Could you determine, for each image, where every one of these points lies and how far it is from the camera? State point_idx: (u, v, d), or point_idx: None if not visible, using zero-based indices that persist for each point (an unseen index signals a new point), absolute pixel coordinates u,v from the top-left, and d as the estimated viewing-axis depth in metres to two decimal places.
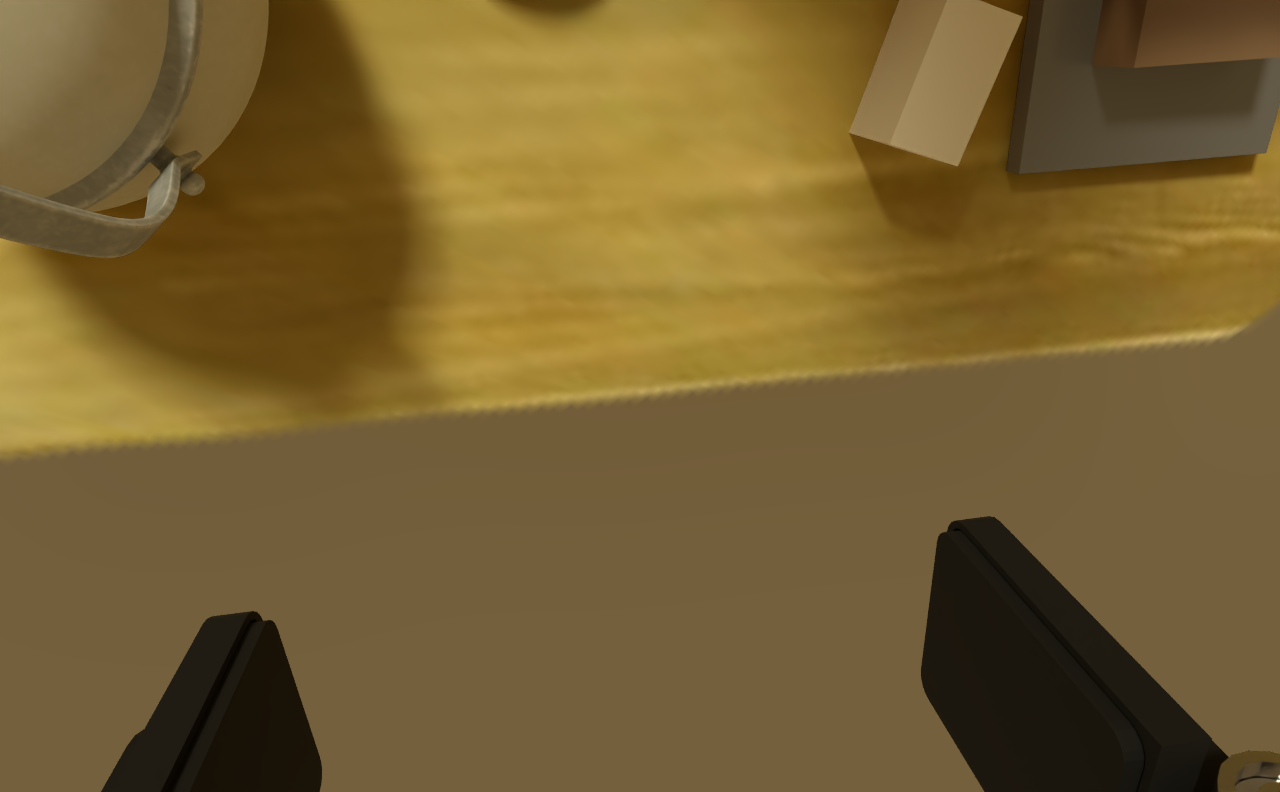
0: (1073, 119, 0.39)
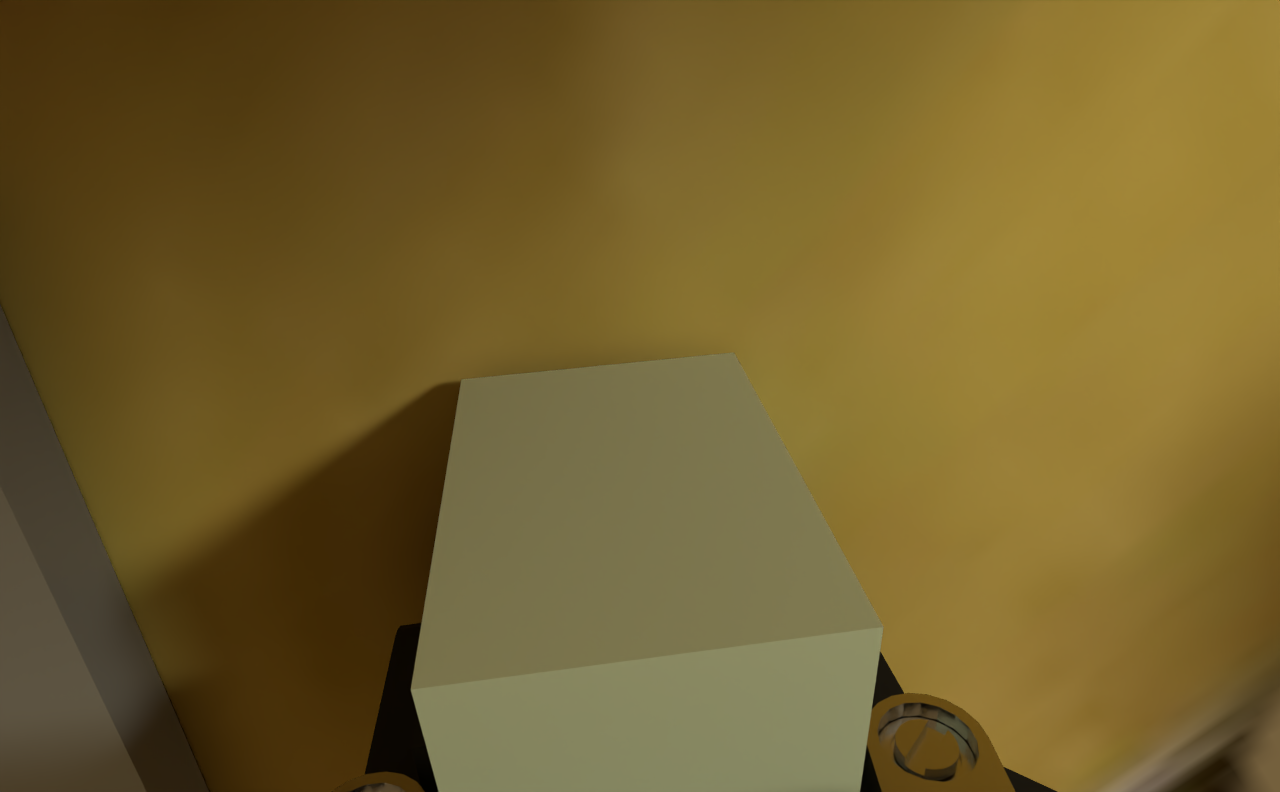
0: None
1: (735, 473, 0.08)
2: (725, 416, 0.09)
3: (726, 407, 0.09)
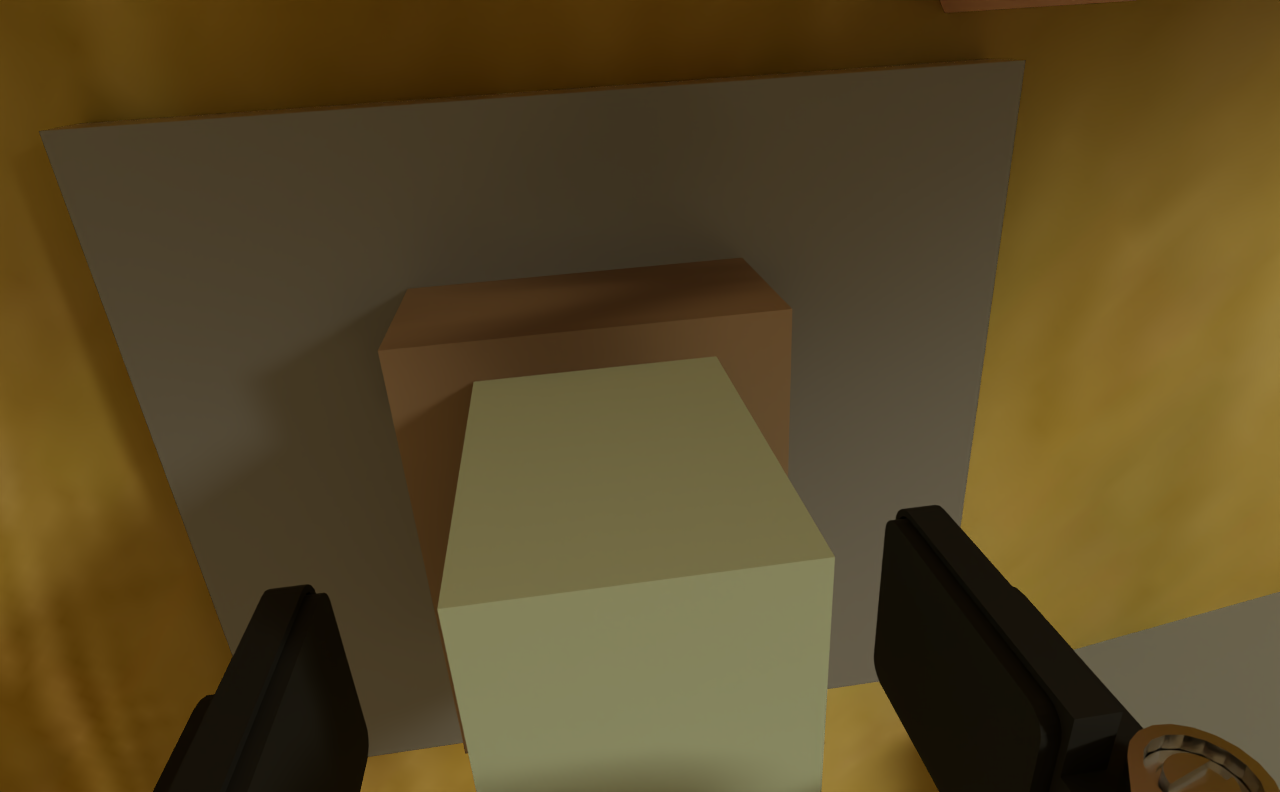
0: (253, 275, 0.13)
1: (714, 448, 0.09)
2: (707, 405, 0.10)
3: (708, 398, 0.10)
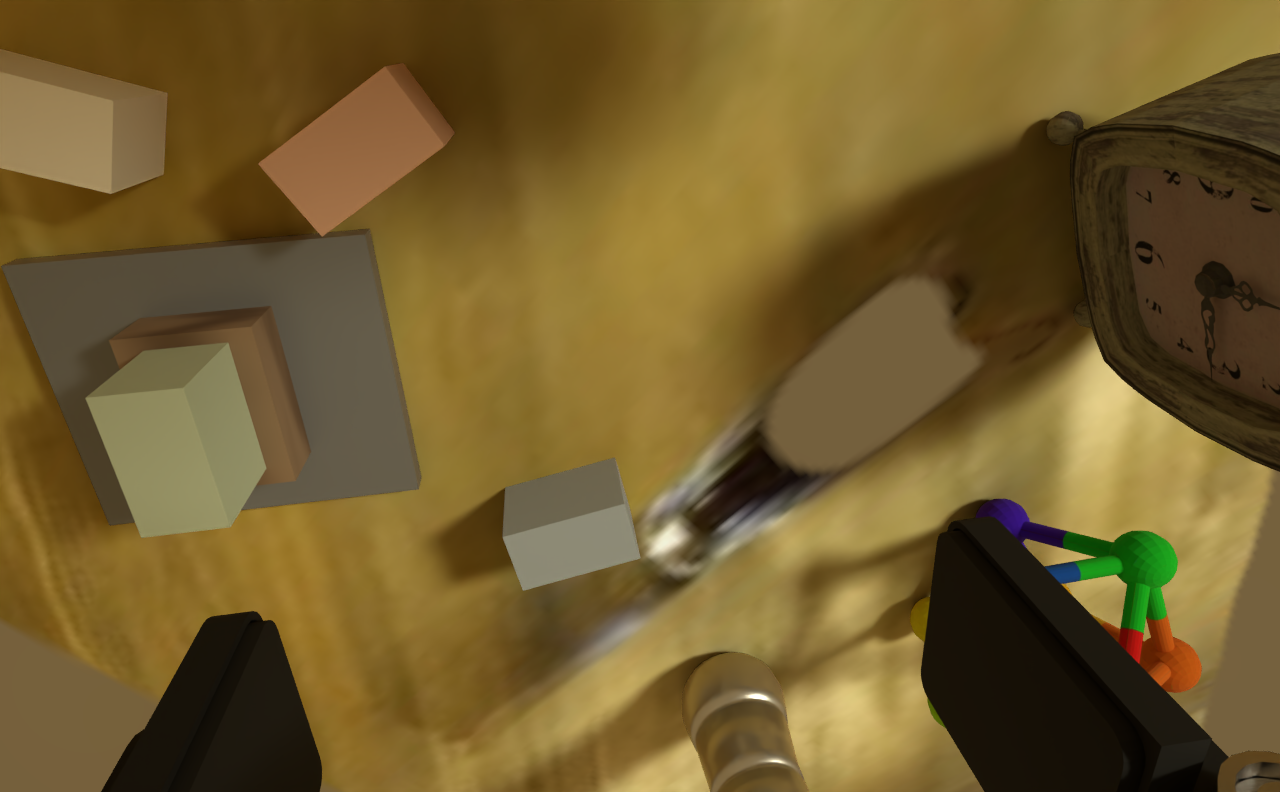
0: (80, 313, 0.36)
1: (188, 367, 0.32)
2: (203, 357, 0.33)
3: (206, 354, 0.33)
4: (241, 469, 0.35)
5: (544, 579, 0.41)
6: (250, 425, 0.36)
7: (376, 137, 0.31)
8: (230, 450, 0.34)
